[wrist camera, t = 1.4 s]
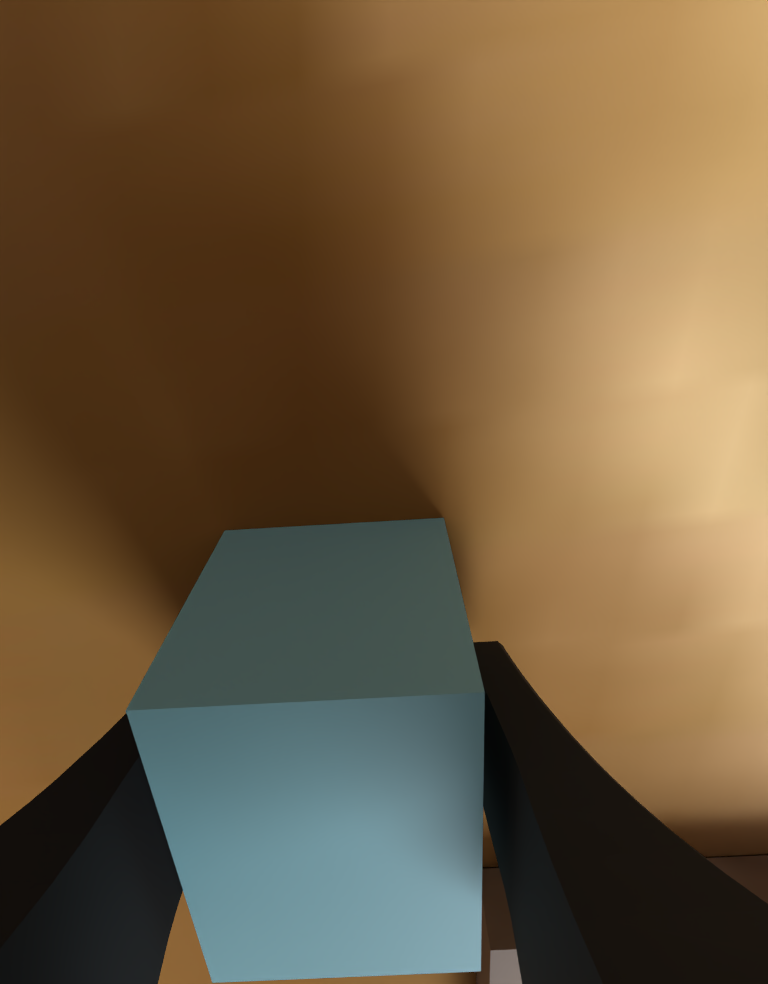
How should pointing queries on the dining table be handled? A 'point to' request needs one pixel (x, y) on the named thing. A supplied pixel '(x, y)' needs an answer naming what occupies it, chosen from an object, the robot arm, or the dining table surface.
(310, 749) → the teal brick
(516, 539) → the dining table surface
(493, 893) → the tower base
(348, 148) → the dining table surface
